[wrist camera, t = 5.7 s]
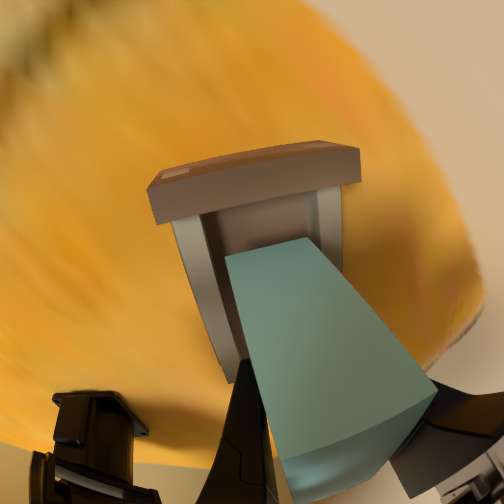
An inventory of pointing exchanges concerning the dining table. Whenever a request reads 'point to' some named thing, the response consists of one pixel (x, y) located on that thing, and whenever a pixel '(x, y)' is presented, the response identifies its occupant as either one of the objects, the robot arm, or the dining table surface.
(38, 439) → the dining table surface
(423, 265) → the dining table surface
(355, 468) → the pale teal rectangular prism
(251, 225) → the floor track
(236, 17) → the dining table surface
